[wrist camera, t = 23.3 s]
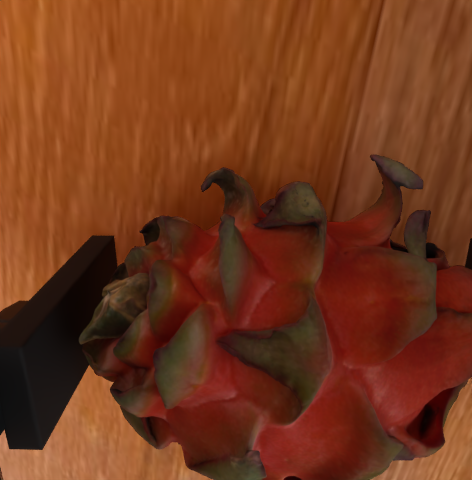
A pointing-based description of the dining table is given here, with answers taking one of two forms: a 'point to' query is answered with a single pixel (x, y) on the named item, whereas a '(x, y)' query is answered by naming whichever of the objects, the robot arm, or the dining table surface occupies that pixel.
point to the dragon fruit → (287, 335)
